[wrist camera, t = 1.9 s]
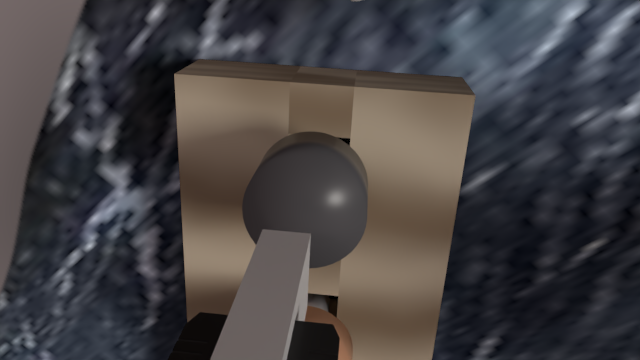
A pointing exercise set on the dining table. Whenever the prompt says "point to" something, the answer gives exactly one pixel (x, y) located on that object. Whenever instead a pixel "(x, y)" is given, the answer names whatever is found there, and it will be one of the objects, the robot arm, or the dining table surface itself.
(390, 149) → the mount
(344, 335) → the orange knob middle
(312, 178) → the black knob
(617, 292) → the dining table surface
